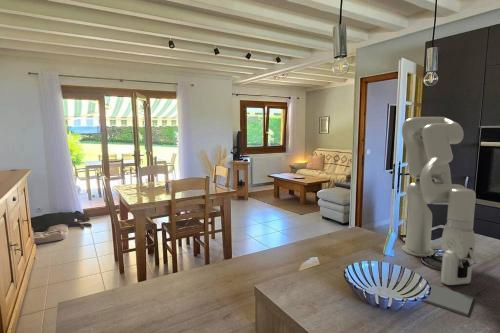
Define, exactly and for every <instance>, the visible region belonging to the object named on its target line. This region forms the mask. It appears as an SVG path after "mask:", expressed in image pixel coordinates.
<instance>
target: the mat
mask: <svg viewBox="0 0 500 333" xmlns="http://www.w3.org/2000/svg"><path fill="white" fill-rule="evenodd" d="M429 286H430V287H431V293H430V295H429V297H428V298H427V299H426V300H425V301H423V302H425V303H427V304H430V305H433V306H437V307H439V308H442V309H445V310H447V311H451V312H454V313H457V314H460V315H463V316H465V317H469V314H470V311H471V308H472V305H473V302H474V296H471V295H468V294H464V293H462V292H458V291H455V290H451V289H447V288H444V287H442V286H441V287H440V286H437V285H434V284H429Z"/></svg>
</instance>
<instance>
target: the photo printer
mask: <svg viewBox="0 0 500 333" xmlns="http://www.w3.org/2000/svg"><path fill="white" fill-rule="evenodd" d="M463 262H465V260H463ZM458 266H460V263H459V259H458V258H456V257H455V254H454V252H453V251H451V250H448V251H446V252H443V254H442V259H441V270H440V281H441V283H442V284H444V285H447V286H457V285H466V284H470V283H471V280H472V271H473V270H472V269H473V265H471V266H470V267H468V271H467V277H466V278H458V277H457V275H458Z"/></svg>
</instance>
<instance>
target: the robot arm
mask: <svg viewBox="0 0 500 333" xmlns="http://www.w3.org/2000/svg"><path fill="white" fill-rule="evenodd" d="M401 135H402V139H403V143H404V145H405V148H406V154H407V155H406V158H407V170H408V175H409V176H410V178H413V179H417V180H418V179H419V181H414V182H411V183H409V184H408V185H407V187H406V189H405V190H406V200H407V221H406V224H407V225H406V235H405V237H402V241H403V242H404V244H403V245H402V246H401V250H402V251H403V252H404V253H407V254H409V255H411V256H416V257H421V258H422V257H423V258H426V257H427V256H429V257H432V256H431V255H433V254H434V255H435V250H434V249H432V248H431V245H432V244H431V241H432V228H433V227H432V226H433V213H432V211H431V209H430V208H429V207H428V205H430V204H431V205H447V216H446V223H445V225H444V227H443V230H442V234H441V242H440V249H441V250H442V251H443V253H444V252H446V251H448V250H451V251H453V252H454V254H455V257H456V258H458V259H459V263H460V266H458V275H457V277H458V278H466V277H467V271H468V267H470V266H471V265H472V266H473V265H476V264H477V263H478V262H477V260H476V257H475V254H476V253H475V252H476V251H475V250H476V240H475V239H476V238H475V231H474V220H475V209H476V198H477V196H476V195H477V194H476V192H475V191H474V189H472V188H466V187H465V186H464V185H462V184H458V183H452V175H451V168H450V164H449V163H451V162H452V161H453V159H454V155H453V152H452V147H451V145H457V144H460V143H461V142H462V141H463V139H464V130H463V127H462V126H461V125H460V124H459V122H456V121H454V120H452V119H450V118H447V117H445V116H414V117H409V118H407V119H406V120H404V121H403V123H402V127H401ZM433 180H434V181H433ZM434 255H433V256H434ZM427 258H428V257H427ZM463 260H465V262H463Z"/></svg>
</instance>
